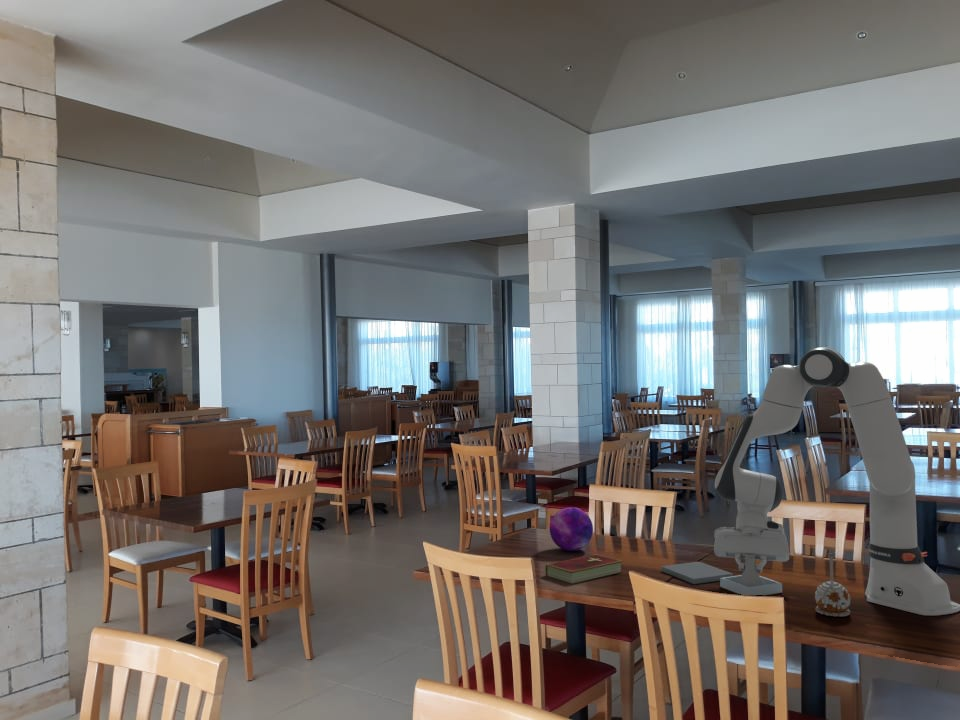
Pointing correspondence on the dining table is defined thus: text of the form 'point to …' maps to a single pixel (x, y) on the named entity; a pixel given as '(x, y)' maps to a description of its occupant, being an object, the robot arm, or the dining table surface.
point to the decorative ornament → (832, 597)
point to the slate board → (696, 572)
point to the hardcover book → (583, 568)
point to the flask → (750, 572)
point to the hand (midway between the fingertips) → (750, 570)
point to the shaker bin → (765, 589)
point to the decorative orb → (571, 529)
